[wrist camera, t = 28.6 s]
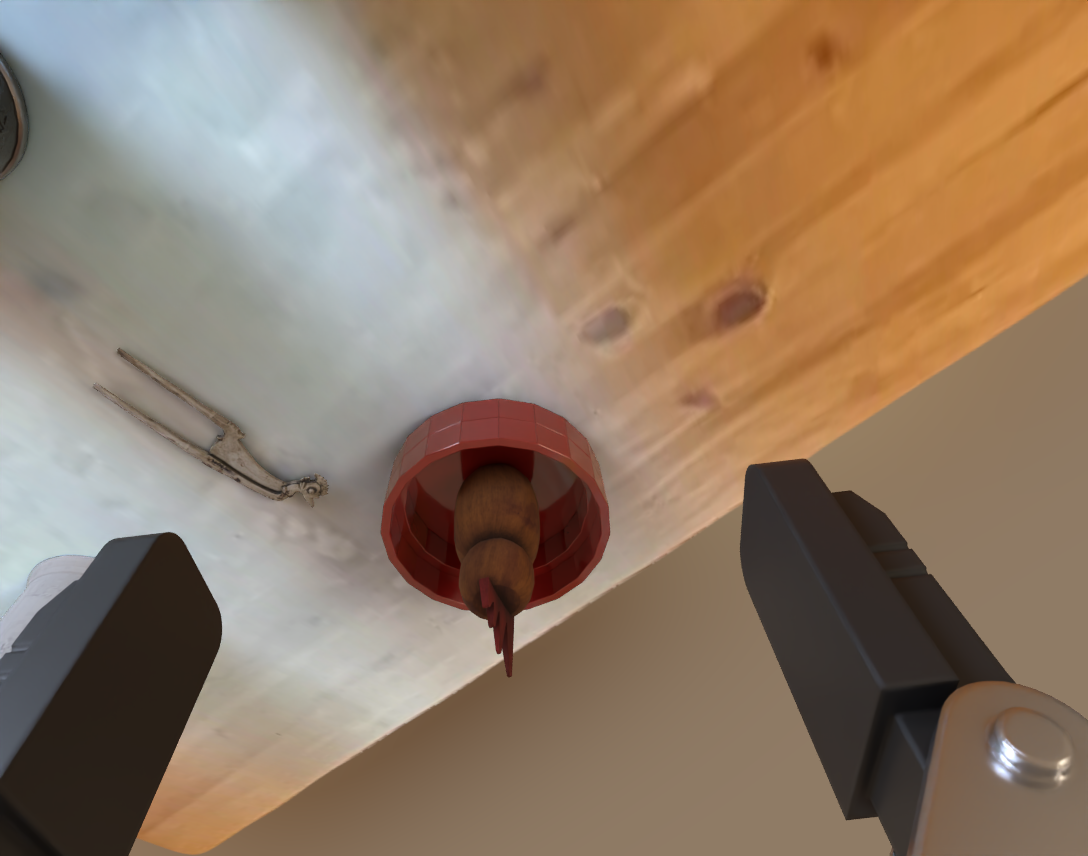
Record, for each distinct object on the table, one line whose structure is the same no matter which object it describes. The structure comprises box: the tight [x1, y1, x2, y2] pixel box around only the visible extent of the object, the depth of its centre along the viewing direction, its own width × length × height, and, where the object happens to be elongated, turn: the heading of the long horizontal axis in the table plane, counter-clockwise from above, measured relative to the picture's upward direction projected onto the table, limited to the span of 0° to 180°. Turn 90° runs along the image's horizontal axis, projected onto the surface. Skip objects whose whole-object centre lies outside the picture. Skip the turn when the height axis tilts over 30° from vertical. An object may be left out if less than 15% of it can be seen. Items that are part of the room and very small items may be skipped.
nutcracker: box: [93, 348, 329, 508], centre depth 45 cm, size 16×1×5 cm
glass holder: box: [0, 555, 95, 659], centre depth 47 cm, size 9×14×15 cm, turn 80°
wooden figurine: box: [454, 463, 540, 677], centre depth 42 cm, size 7×6×15 cm
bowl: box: [381, 399, 610, 611], centre depth 47 cm, size 15×15×6 cm
